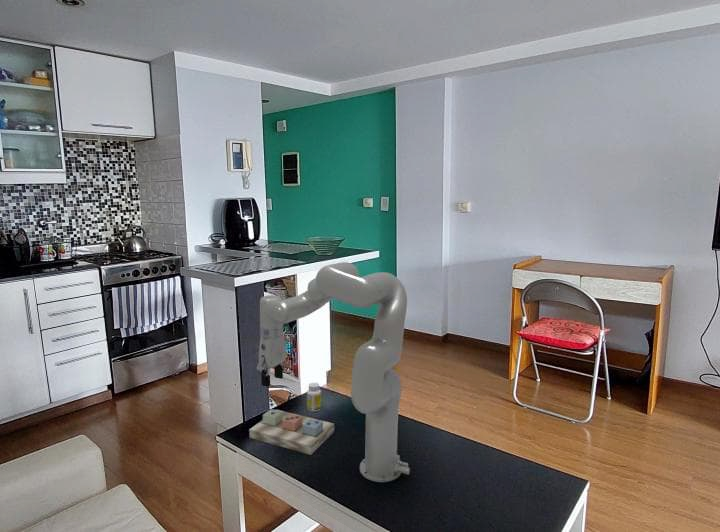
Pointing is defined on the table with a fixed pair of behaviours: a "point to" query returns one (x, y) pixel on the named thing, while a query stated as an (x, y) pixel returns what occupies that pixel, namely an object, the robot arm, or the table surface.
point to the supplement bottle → (314, 397)
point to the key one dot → (272, 417)
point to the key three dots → (292, 422)
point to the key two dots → (312, 427)
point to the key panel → (291, 435)
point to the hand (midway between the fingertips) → (272, 381)
